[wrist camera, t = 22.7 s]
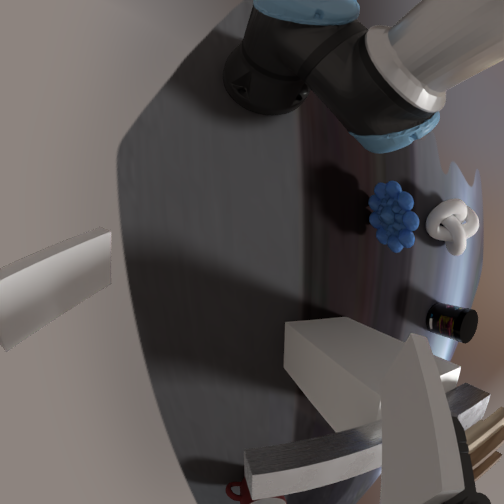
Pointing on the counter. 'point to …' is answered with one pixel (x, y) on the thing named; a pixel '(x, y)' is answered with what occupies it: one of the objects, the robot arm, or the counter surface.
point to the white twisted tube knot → (452, 224)
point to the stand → (485, 442)
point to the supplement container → (452, 322)
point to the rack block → (346, 368)
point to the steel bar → (338, 452)
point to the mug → (245, 497)
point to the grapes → (393, 216)
